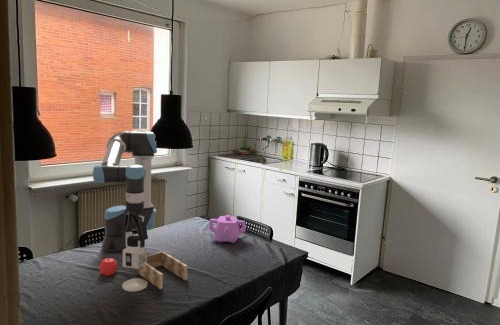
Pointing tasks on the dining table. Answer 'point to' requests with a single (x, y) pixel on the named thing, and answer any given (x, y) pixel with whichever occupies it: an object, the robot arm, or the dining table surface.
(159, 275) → the tan open-ended frame
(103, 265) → the apple
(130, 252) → the container
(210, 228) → the teapot
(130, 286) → the trivet
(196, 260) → the dining table surface
